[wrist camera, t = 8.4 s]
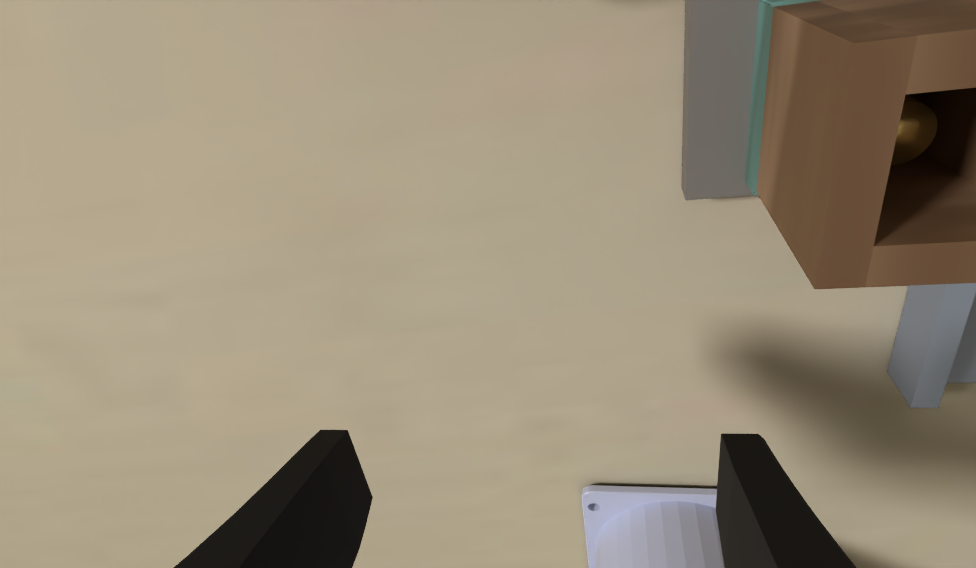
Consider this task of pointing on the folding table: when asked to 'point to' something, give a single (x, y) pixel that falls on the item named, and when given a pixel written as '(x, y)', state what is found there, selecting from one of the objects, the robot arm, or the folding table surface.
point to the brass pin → (914, 131)
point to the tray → (934, 342)
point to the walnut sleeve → (866, 138)
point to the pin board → (717, 96)
